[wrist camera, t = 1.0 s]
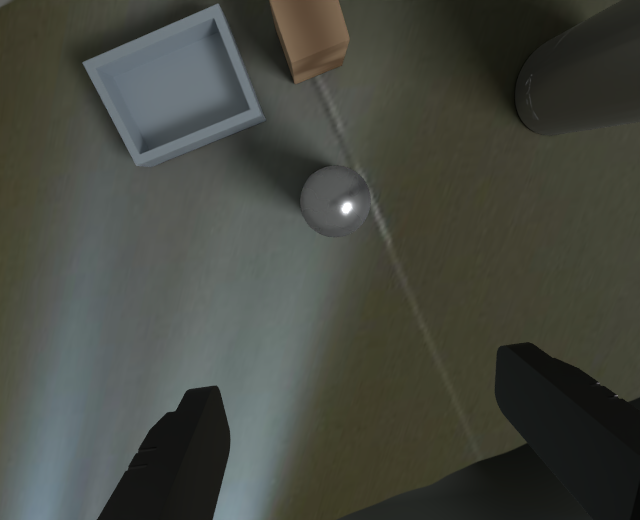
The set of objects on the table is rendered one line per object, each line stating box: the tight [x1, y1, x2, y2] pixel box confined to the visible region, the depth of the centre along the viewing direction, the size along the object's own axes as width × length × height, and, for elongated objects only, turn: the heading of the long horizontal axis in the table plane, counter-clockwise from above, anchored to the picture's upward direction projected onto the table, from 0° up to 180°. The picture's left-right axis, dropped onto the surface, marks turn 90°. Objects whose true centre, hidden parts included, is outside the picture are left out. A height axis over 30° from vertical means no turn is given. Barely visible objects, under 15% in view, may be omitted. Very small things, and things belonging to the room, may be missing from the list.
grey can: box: [300, 165, 371, 237], centre depth 29 cm, size 6×6×8 cm
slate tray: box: [82, 4, 266, 167], centre depth 28 cm, size 13×9×3 cm
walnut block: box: [269, 0, 350, 84], centre depth 26 cm, size 5×5×6 cm
